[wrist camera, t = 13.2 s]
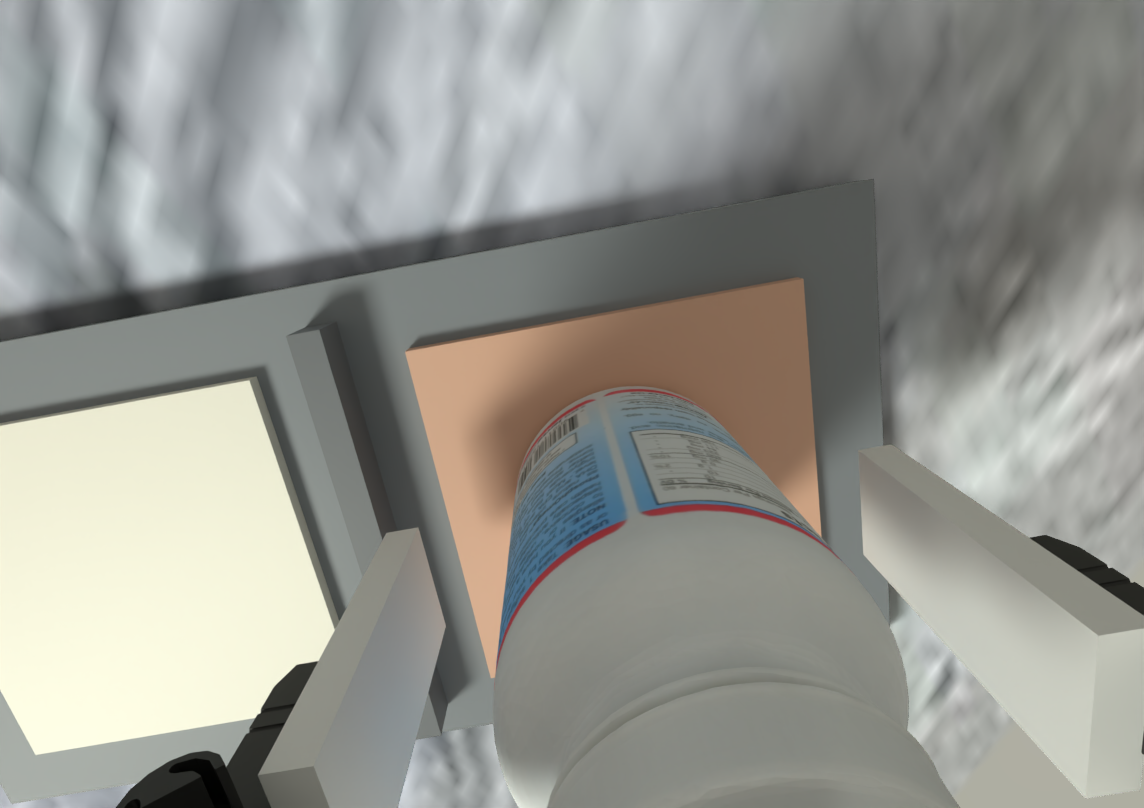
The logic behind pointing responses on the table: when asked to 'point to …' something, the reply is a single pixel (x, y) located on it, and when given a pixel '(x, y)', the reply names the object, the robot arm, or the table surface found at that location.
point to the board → (382, 459)
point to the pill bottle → (687, 631)
